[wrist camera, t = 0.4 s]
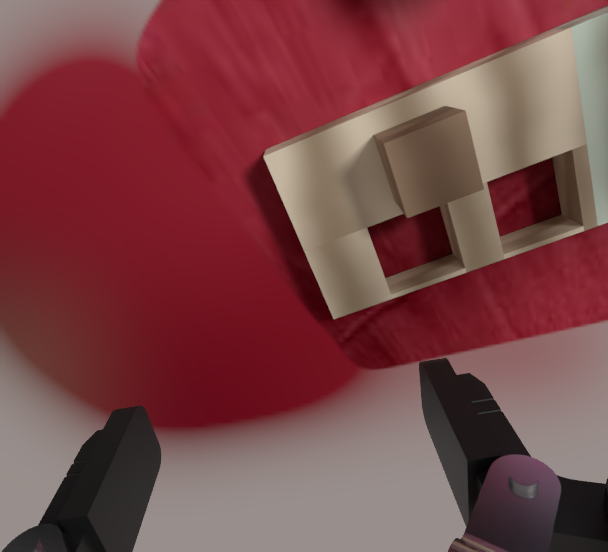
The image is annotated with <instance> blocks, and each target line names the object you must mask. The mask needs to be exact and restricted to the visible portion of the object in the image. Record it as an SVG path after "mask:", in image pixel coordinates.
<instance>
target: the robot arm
mask: <svg viewBox="0 0 608 552" xmlns="http://www.w3.org/2000/svg"><path fill="white" fill-rule="evenodd" d="M419 372H420V385H421V398H422V408H423V414H424V418H425V422H426V425H427V428H428V430H429V433H430V436H431V438H432V441H433V443H434V446H435V448H436V451H437V454H438V456H439V459H440V461H441V463H442V466H443V469H444V471H445V474H446V476H447V479H448V481H449V484H450V486H451V489H452V491H453V494H454V497H455V499H456V501H457V504H458V507H459V509H460V512H461V514H462V517H463V519H464V522H465V525H466V530H465V533H464V535H463V537H462V538H461V539H458V538H456V539H455V540H454V541H453V542H452V544H451V546H450V548H449V550H448V552H608V479H607V482H606V484H602V483H594V482H585V481H578V480H571V479H567V478H563V477H560V476H558V475H556V474H555V473H554V472H553V470H552V469H551V468H549V467H548V466H547V465H546V464H544V463H543V462H541V461H539V460H537V459H535V458H532V457H531V456H530V454H529V453H528V451H527V450H526V448H525V447H524V445H523V444H522V442H521V440H520V439H519V437H518V436H517V434H516V432H515V431H514V429H513V428H512V426H511V425H510V423H509V421H508V420H507V418H506V417H505V415H504V414H503V412H501V409H500V407H499V406H498V404H497V403H496V401H495V400H494V399H493V396H492V395H491V393H490V392H489V390H488V388H487V387H486V385H485V384H484V383H483V382H481V381H480V380H478V379H477V378H476V377H474V376H473V375H471V374H470V373H467V374H461V375H456V374H455V372H454V370H453V368H452V366H451V365H450V363H449V361H448V360H447V358H443V359H436V360H430V361H424V362H420V363H419ZM160 464H161V449H160V445H159V442H158V440H157V437H156V435H155V432H154V430H153V427H152V425H151V422H150V420H149V417H148V415H147V412H146V410H145V408H144V407H142V406H135V407H129V408H122V409H116V410H114V411H113V412H112V414H111V415H110V417H109V419H108V421H107V423H106V425H105V427H104V429H103V430H98V431H96V432H95V433H94V434H93V435H92V436H91V437H90V438H89V439H88V440H87V441H86V442H85V443H84V444H83V445H82V447H81V449H80V451H79V453H78V455H77V456H76V458H75V460H74V464H72V465H71V467H70V469H69V471H68V473H67V477H65V478H64V480H63V481H62V483H61V485H60V487H59V489H58V490H57V492H56V494H55V496H54V498H53V499H52V501H51V503H50V505H49V507H48V508H47V510H46V512H45V514H44V516H43V517H42V520H41V521H40V523H39V525H38V526H35V527H32V528H30V529H28V530H26V531H25V532H23V533H21V534H20V535H18V536H17V537H16V538H15V539H13V540H12V541H11V542H10V543H9V544H8V545H7V546H6V547H5V548H4V549H3V551H2V552H132V551H133V548H134V545H135V542H136V539H137V536H138V533H139V529H140V527H141V523H142V520H143V517H144V514H145V511H146V508H147V505H148V502H149V499H150V496H151V493H152V490H153V487H154V484H155V481H156V478H157V475H158V472H159V468H160Z"/></svg>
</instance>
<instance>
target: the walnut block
mask: <svg viewBox="0 0 608 552" xmlns="http://www.w3.org/2000/svg"><path fill="white" fill-rule="evenodd" d="M373 136H374V139H375V142H376V145H377V148H378V151H379V154H380V157H381V160H382V163H383V167H384V170H385V173H386V176H387V179H388V182H389V185H390V188H391V191H392V194H393V197H394V200H395V203H396V204H397V205H398V206H399V208H400V209H401V210H402V212H403V213H404V214H405V216H406V217H407V218H410V217H412V216H415V215H417V214H420V213H423V212H425V211H428V210H431V209H433V208H436V207H439V206H441V205H444V204H447V203H449V202H452V201H454V200H457V199H460V198H462V197H465V196H468V195H470V194H473V193H476V192H478V191H481V190H484V186H483V182H482V178H481V174H480V169H479V165H478V161H477V157H476V152H475V148H474V144H473V140H472V135H471V131H470V127H469V123H468V118H467V114H466V110H461V109H457V108H453V107H449V106H443V107H440V108H438V109H435V110H433V111H431V112H428V113H426V114H423V115H421V116H418V117H416V118H413V119H411V120H409V121H406V122H404V123H401V124H399V125H396V126H394V127H392V128H389V129H387V130H384V131H382V132H379V133H377V134H375V135H373Z"/></svg>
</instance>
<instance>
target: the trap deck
mask: <svg viewBox="0 0 608 552" xmlns="http://www.w3.org/2000/svg"><path fill="white" fill-rule="evenodd" d="M443 106H449V107H453V108H457V109H461V110H466V114H467V118H468V123H469V127H470V131H471V135H472V140H473V144H474V148H475V152H476V157H477V161H478V165H479V169H480V174H481V178H482V182H483V186H484V190H481V191H478V192H476V193H473V194H470V195H468V196H465V197H462V198H460V199H457V200H454V201H452V202H449V203H447V204H444V205H441V206H439V207H440V210H441V214H442V217H443V221H444V224H445V228H446V231H447V235H448V238H449V242H450V246H451V249H452V253H453V254H451V255H448V256H445V257H443V258H440V259H437V260H434V261H432V262H429V263H426V264H423V265H420V266H418V267H415V268H412V269H409V270H407V271H404V272H401V273H398V274H396V275H393V276H390V277H387V278H385V276H384V274H383V271H382V268H381V265H380V262H379V260H378V257H377V254H376V251H375V249H374V246H373V243H372V240H371V237H370V235H369V232H368V229H367V227H370V226H373V225H375V224H378V223H381V222H383V221H386V220H388V219H391V218H394V217H396V216H399V215H402V214H404V213H403V212H402V210H401V209H400V208H399V206H398V205H397V204H396V203H395V200H394V197H393V194H392V191H391V188H390V185H389V182H388V179H387V176H386V173H385V170H384V167H383V163H382V160H381V157H380V154H379V151H378V148H377V145H376V142H375V139H374V136H373V135H375V134H377V133H379V132H382V131H384V130H387V129H389V128H392V127H394V126H396V125H399V124H401V123H404V122H406V121H409V120H411V119H413V118H416V117H418V116H421V115H423V114H426V113H428V112H431V111H433V110H435V109H438V108H440V107H443ZM263 157H264V159H265V162H266V164H267V166H268V169H269V171H270V173H271V176H272V178H273V180H274V183H275V185H276V187H277V190H278V192H279V194H280V197H281V199H282V201H283V203H284V206H285V208H286V210H287V213H288V215H289V217H290V220H291V222H292V224H293V227H294V229H295V231H296V234H297V236H298V238H299V240H300V243H301V245H302V247H303V250H304V252H305V254H306V257H307V259H308V261H309V264H310V266H311V268H312V271H313V273H314V275H315V277H316V280H317V282H318V284H319V287H320V289H321V291H322V294H323V296H324V298H325V301H326V303H327V305H328V308H329V310H330V312H331V314H332V317H333V319H337V318H339V317H342V316H345V315H348V314H351V313H354V312H356V311H359V310H362V309H365V308H368V307H370V306H373V305H376V304H379V303H382V302H385V301H387V300H390V299H393V298H396V297H399V296H402V295H404V294H407V293H410V292H413V291H416V290H419V289H421V288H424V287H427V286H430V285H433V284H435V283H438V282H441V281H444V280H447V279H450V278H452V277H455V276H458V275H461V274H464V273H467V272H469V271H472V270H475V269H478V268H481V267H484V266H486V265H489V264H492V263H495V262H498V261H500V260H503V259H506V258H509V257H512V256H515V255H517V254H520V253H523V252H526V251H529V250H532V249H534V248H537V247H540V246H543V245H546V244H549V243H551V242H554V241H557V240H560V239H563V238H565V237H568V236H571V235H574V234H577V233H580V232H582V231H585V230H588V229H591V228H594V227H597V226H599V225H602V224H605V223H608V6H606V7H603V8H601V9H598V10H596V11H594V12H591V13H589V14H587V15H584V16H582V17H579V18H577V19H575V20H572V21H570V22H568V23H565V24H563V25H560V26H558V27H556V28H553V29H551V30H549V31H546V32H544V33H541V34H539V35H537V36H534V37H532V38H530V39H527V40H525V41H522V42H520V43H518V44H515V45H513V46H511V47H508V48H506V49H503V50H501V51H499V52H496V53H494V54H492V55H489V56H487V57H484V58H482V59H480V60H477V61H475V62H473V63H470V64H468V65H465V66H463V67H461V68H458V69H456V70H454V71H451V72H449V73H446V74H444V75H442V76H439V77H437V78H435V79H432V80H430V81H427V82H425V83H423V84H420V85H418V86H416V87H413V88H411V89H408V90H406V91H404V92H401V93H399V94H396V95H394V96H392V97H389V98H387V99H385V100H382V101H380V102H377V103H375V104H373V105H370V106H368V107H366V108H363V109H361V110H358V111H356V112H354V113H351V114H349V115H347V116H344V117H342V118H339V119H337V120H335V121H332V122H330V123H328V124H325V125H323V126H320V127H318V128H316V129H313V130H311V131H309V132H306V133H304V134H301V135H299V136H297V137H294V138H292V139H290V140H287V141H285V142H282V143H280V144H278V145H275V146H273V147H271V148H268V149H266V150H265V153H264V156H263ZM551 157H552V159H553V165H554V171H555V177H556V183H557V189H558V195H559V201H560V207H561V213H562V215H559V216H556V217H553V218H551V219H548V220H545V221H542V222H539V223H537V224H534V225H531V226H528V227H526V228H523V229H520V230H517V231H515V232H512V233H509V234H506V235H503V236H501V237H499V232H498V228H497V224H496V220H495V215H494V211H493V207H492V202H491V198H490V194H489V189H488V185H487V182H488V181H491V180H494V179H496V178H499V177H501V176H504V175H507V174H509V173H512V172H515V171H517V170H520V169H522V168H525V167H528V166H530V165H533V164H536V163H538V162H541V161H543V160H546V159H549V158H551Z"/></svg>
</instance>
